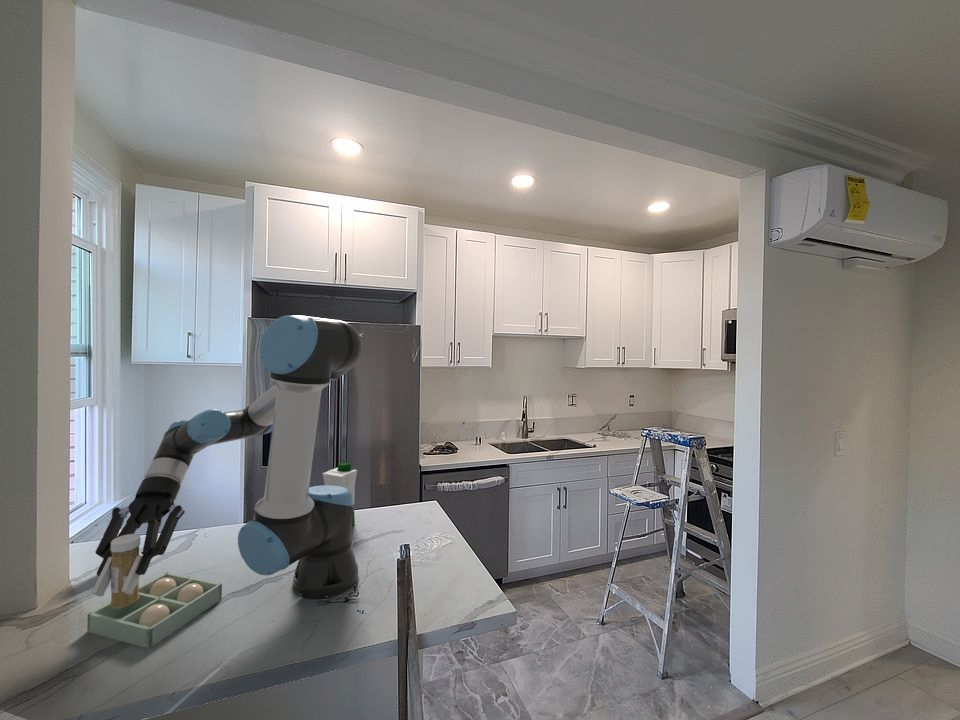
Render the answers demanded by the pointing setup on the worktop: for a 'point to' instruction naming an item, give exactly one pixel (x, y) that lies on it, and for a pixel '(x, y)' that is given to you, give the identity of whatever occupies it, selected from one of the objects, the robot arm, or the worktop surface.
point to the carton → (126, 619)
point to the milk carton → (342, 479)
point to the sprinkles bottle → (123, 569)
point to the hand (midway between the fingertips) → (112, 593)
